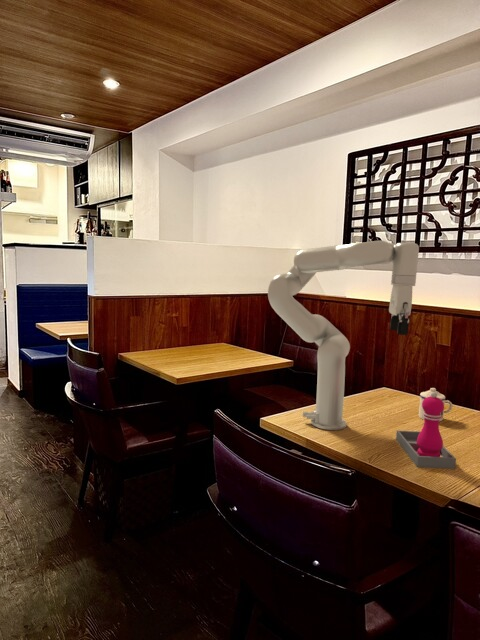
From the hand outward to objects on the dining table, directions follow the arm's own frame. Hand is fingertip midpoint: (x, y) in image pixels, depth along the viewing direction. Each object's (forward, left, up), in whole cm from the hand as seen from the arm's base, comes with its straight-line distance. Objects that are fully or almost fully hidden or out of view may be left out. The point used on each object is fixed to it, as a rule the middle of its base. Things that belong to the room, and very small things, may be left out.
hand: (398, 332), depth 151 cm
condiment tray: (+6, -15, -35) cm, 39 cm away
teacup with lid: (+22, +19, -36) cm, 46 cm away
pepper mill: (+5, -20, -35) cm, 40 cm away
